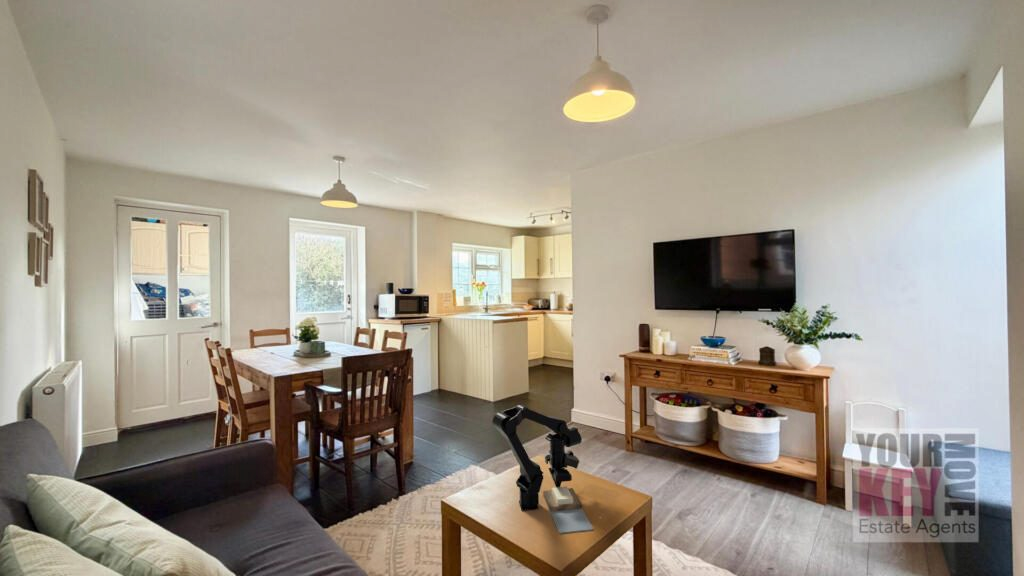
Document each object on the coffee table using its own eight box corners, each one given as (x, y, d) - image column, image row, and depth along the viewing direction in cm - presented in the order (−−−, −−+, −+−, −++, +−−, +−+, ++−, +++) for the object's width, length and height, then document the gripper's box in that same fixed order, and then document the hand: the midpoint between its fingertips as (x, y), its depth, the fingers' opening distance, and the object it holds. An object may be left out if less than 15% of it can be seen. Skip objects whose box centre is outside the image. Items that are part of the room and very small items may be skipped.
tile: (557, 504, 155) (557, 499, 155) (551, 492, 164) (551, 487, 164) (573, 503, 156) (573, 498, 156) (566, 491, 165) (566, 486, 165)
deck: (550, 512, 154) (550, 507, 154) (543, 495, 166) (543, 490, 166) (581, 509, 156) (581, 504, 156) (572, 493, 168) (572, 488, 168)
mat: (559, 533, 141) (559, 532, 141) (550, 512, 154) (550, 511, 154) (593, 530, 143) (593, 528, 143) (582, 509, 156) (582, 508, 156)
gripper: (584, 457, 158) (585, 498, 158) (570, 439, 176) (570, 476, 177) (555, 460, 156) (556, 501, 157) (544, 441, 175) (544, 478, 175)
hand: (558, 488), depth 166 cm, fingers closed
